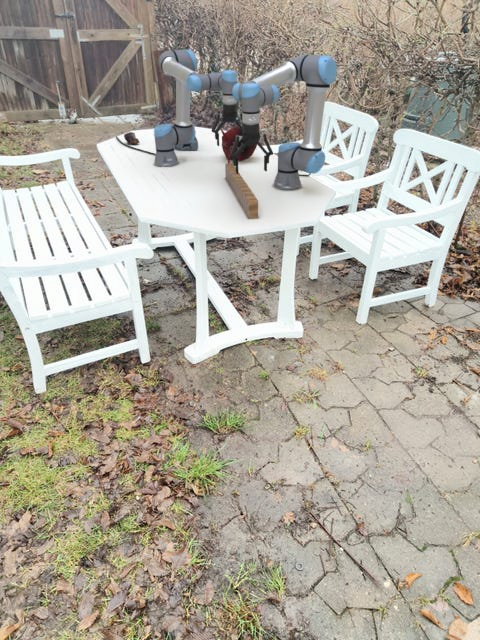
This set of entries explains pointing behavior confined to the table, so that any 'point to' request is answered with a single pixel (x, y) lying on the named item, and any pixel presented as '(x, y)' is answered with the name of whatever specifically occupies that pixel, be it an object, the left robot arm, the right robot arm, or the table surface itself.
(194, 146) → the grey slotted block
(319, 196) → the table surface
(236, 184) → the post
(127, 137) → the rock
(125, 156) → the table surface
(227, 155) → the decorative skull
